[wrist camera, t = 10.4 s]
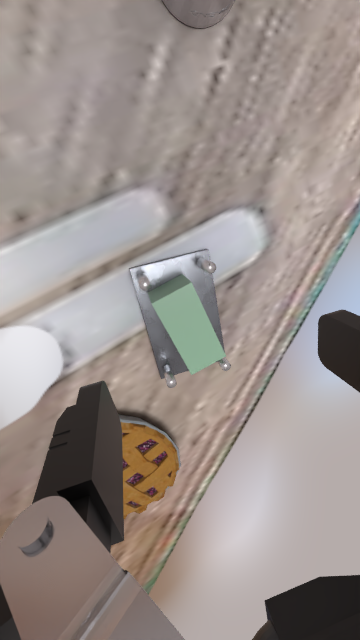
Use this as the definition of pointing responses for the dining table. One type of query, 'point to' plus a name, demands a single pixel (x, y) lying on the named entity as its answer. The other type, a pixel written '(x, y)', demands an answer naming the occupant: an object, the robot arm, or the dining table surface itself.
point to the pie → (146, 463)
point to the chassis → (144, 281)
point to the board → (187, 323)
